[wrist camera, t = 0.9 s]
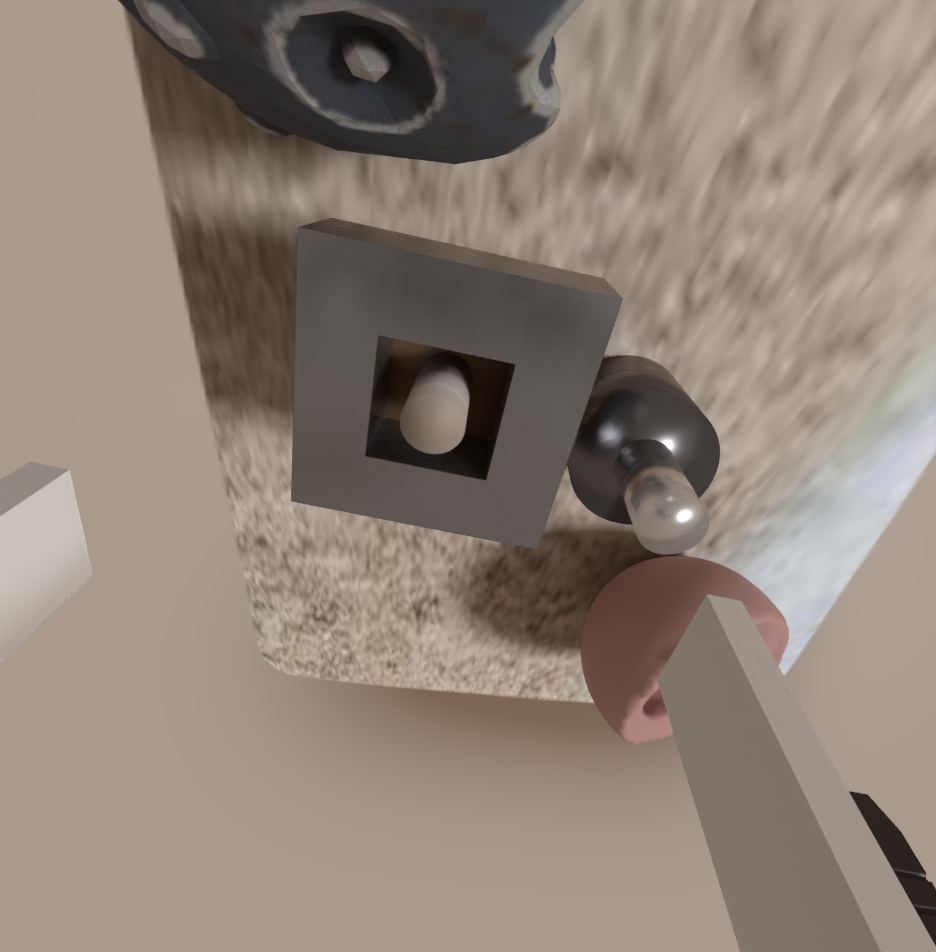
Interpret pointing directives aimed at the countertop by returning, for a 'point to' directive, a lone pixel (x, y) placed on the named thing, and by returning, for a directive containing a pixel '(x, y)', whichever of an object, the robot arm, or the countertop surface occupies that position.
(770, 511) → the countertop surface
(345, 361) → the square hole block
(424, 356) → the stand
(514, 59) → the dark grey piece
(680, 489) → the dark bottle with stopper
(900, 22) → the countertop surface
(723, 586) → the mortar and pestle
